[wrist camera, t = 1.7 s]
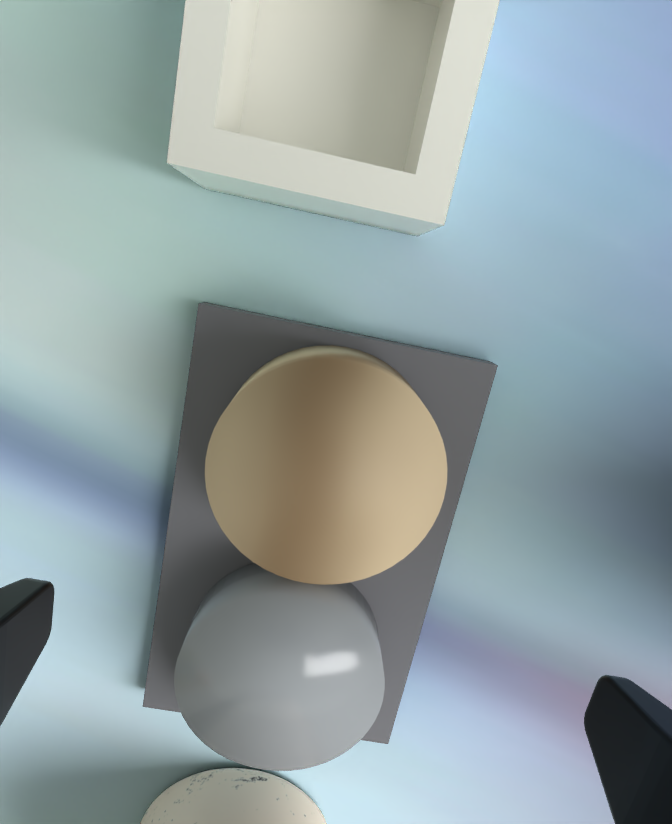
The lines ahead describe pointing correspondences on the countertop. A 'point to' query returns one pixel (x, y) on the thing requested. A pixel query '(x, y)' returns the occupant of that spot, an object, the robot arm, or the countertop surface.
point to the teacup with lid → (233, 800)
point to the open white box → (330, 103)
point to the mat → (217, 557)
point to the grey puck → (280, 670)
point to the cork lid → (326, 466)
